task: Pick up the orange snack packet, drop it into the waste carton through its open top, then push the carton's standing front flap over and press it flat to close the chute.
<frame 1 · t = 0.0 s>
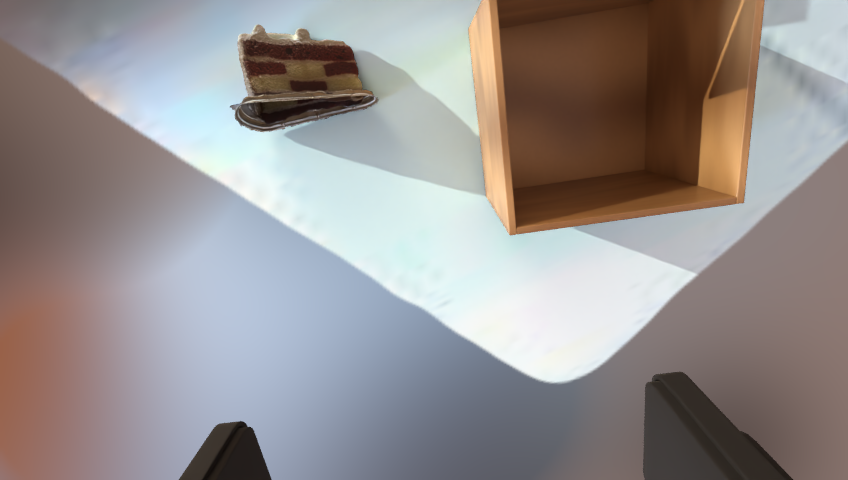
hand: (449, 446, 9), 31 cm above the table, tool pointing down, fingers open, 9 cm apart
carton: (562, 104, 36), on the table
chocolate cake: (308, 75, 36), on the table
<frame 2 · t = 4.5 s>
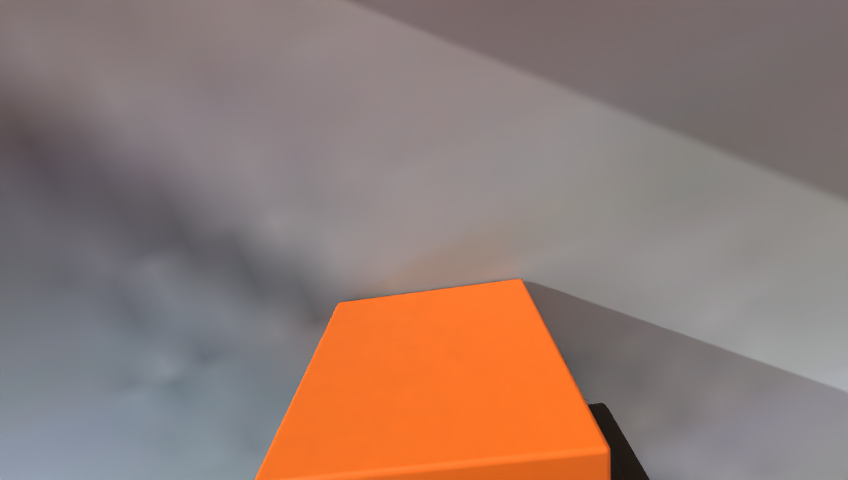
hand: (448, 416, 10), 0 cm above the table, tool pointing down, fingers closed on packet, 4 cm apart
packet: (447, 406, 11), on the table, touching gripper
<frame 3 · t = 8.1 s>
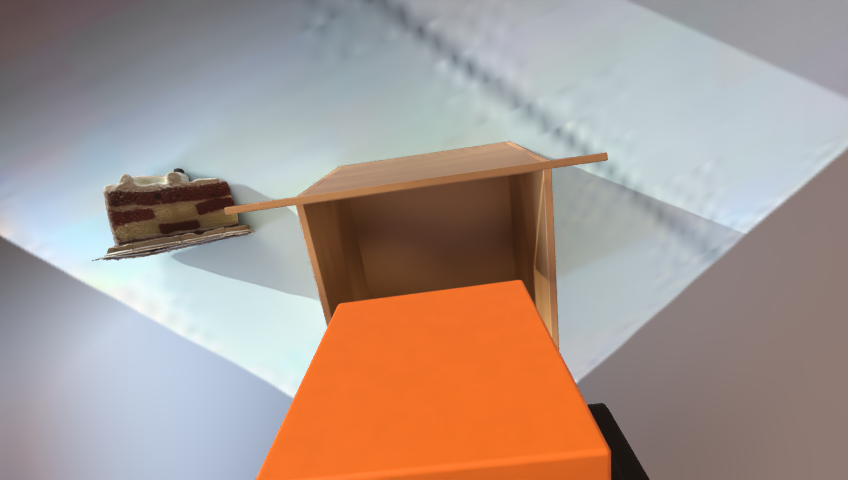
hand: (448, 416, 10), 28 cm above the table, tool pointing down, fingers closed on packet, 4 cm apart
carton: (434, 233, 38), on the table
flap: (415, 182, 19), point 17 cm above the table, hinge at 100.0°
chocolate cake: (189, 204, 37), on the table
packet: (447, 407, 11), point 27 cm above the table, touching gripper
when the fingers open (11 cm above the table, at t = 12.2 s): packet drops 10 cm, resting on carton.
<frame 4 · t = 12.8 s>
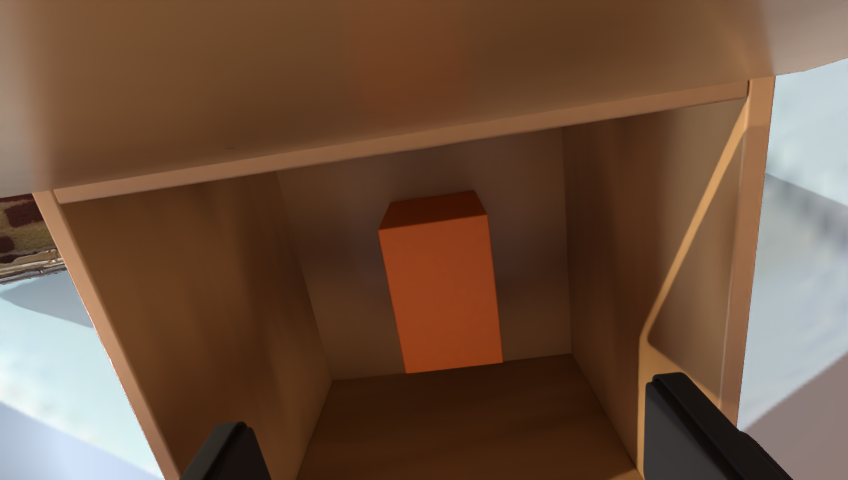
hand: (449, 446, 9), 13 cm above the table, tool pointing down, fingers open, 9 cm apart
carton: (432, 256, 22), on the table
flap: (308, 82, 4), point 17 cm above the table, hinge at 100.0°
chocolate cake: (16, 209, 22), on the table
packet: (441, 258, 22), resting on carton
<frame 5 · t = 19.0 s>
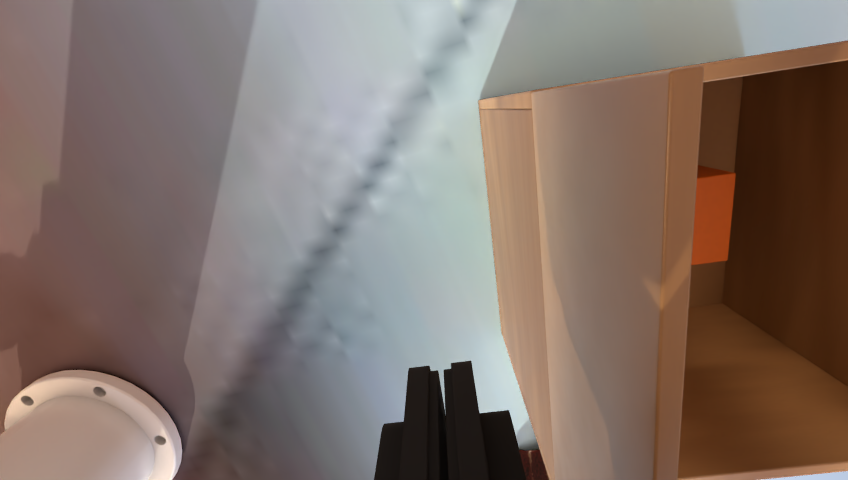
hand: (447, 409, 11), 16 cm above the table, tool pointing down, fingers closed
carton: (610, 210, 25), on the table
flap: (584, 430, 9), point 17 cm above the table, hinge at 94.0°, touching gripper
packet: (613, 205, 24), resting on carton
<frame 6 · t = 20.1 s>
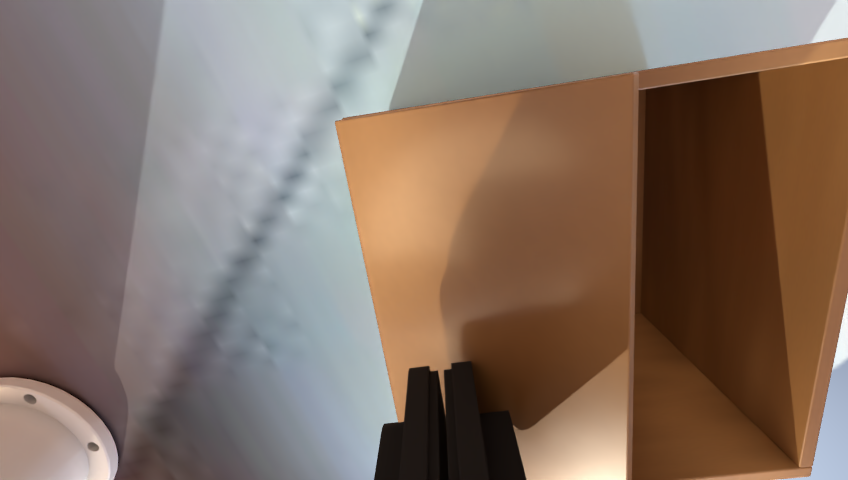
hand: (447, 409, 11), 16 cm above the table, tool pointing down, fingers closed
carton: (525, 221, 25), on the table
flap: (481, 404, 11), point 16 cm above the table, hinge at 41.0°, touching gripper
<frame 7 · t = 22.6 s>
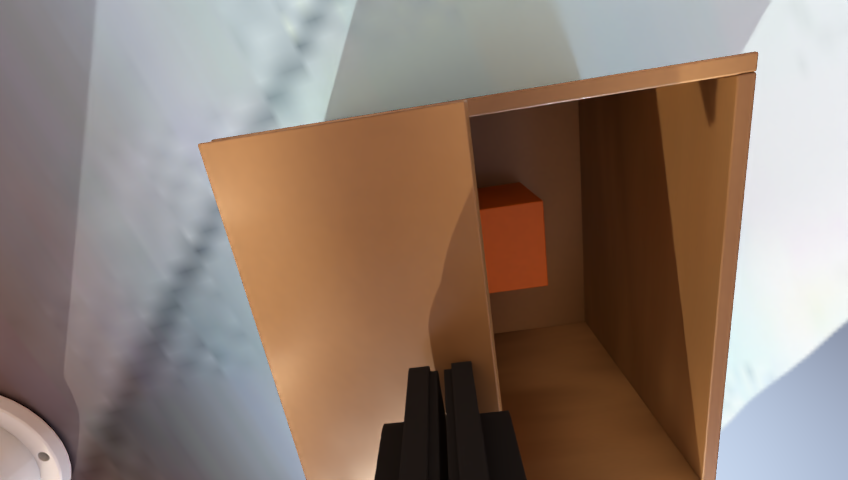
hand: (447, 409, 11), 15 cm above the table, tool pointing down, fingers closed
carton: (466, 231, 25), on the table
flap: (376, 391, 12), point 14 cm above the table, hinge at 18.4°, touching gripper
packet: (466, 226, 24), resting on carton
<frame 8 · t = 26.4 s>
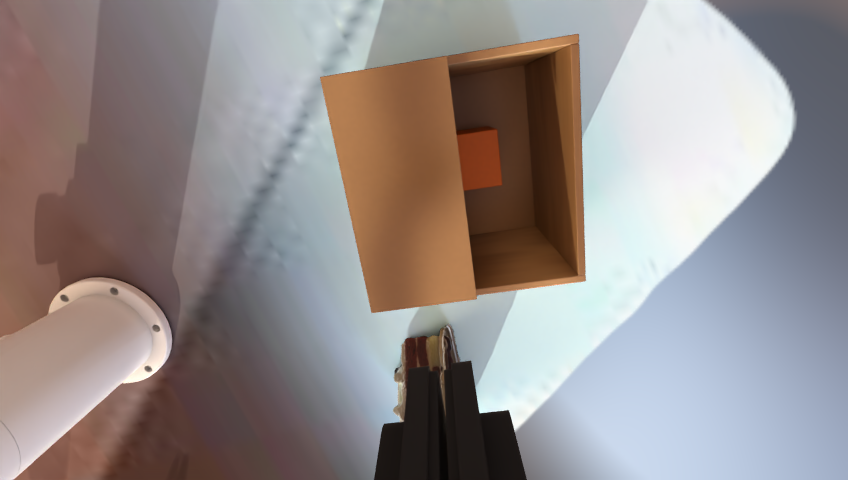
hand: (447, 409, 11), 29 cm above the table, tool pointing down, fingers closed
carton: (453, 161, 37), on the table
flap: (405, 197, 25), point 13 cm above the table, hinge at -0.5°
chocolate cake: (426, 368, 45), on the table
packet: (453, 156, 37), resting on carton
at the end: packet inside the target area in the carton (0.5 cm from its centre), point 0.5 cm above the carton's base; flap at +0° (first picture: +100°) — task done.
